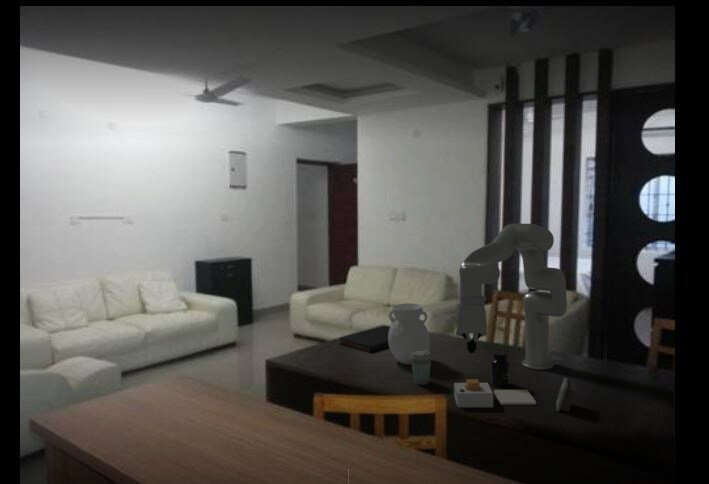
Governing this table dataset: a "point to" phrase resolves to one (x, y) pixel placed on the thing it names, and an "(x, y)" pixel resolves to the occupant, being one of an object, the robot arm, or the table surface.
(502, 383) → the supplement bottle
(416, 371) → the coffee cup
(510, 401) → the pad
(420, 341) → the grey vase
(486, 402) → the box
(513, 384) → the table surface
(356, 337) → the file folder
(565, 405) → the electrical switch
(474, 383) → the button
